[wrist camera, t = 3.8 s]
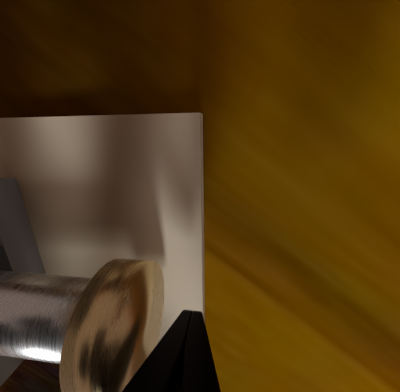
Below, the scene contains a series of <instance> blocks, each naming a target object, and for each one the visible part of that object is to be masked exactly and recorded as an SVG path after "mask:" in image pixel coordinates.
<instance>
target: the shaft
mask: <svg viewBox="0 0 400 392" xmlns="http://www.w3.org/2000/svg"><path fill="white" fill-rule="evenodd" d="M163 307H164V277H163V272H162V268H161V266H160V264H159V263H158V262H157V261H149V260H135V259H121V258H119V259H114V260H111V261H109V262H108V263H106V264H105V265H104V266H103V267H102V268H100V269H99V270H98V272H97V273H96V274H95V275H94V276H93V278H86V277H74V276H62V275H50V274H38V273H27V272H15V271H3V270H0V355H2V356H9V357H16V358H22V359H29V360H36V361H43V362H49V363H56V364H60V370H59V379H60V387H61V391H62V392H122V391H123V389H124V388H125V386H126V385H127V384H128V382H129V381H130V380H131V378H132V377H133V376H134V374H135V373H136V372H137V370H138V369H139V368H140V366H141V365H142V364H143V362H144V361H145V360H146V358H147V357H148V356H149V354H150V353H151V352H152V350H153V349H154V348H155V346H156V345H157V343H158V339H159V334H160V329H161V323H162V316H163Z"/></svg>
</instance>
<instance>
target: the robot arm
mask: <svg viewBox="0 0 400 392" xmlns="http://www.w3.org/2000/svg"><path fill="white" fill-rule="evenodd" d="M122 392H221V391H220V387H219V382H218V378H217V374H216V369H215V365H214V361H213V357H212V352H211V348H210V344H209V339H208V335H207V331H206V326H205V322H204V318H203V314H202V312H201V311H192V310H183V311H182V312H181V313H180V314H179V316H178V317H177V318H176V320H175V321H174V322H173V324H172V325H171V326H170V328H169V329H168V330H167V332H166V333H165V334H164V336H163V337H162V338H161V340H160V341H159V342H158V344H157V345H156V346H155V348H154V349H153V350H152V352H151V353H150V354H149V356H148V357H147V358H146V360H145V361H144V362H143V364H142V365H141V366H140V368H139V369H138V370H137V372H136V373H135V374H134V376H133V377H132V378H131V380H130V381H129V382H128V384H127V385H126V386H125V388H124V389H123V391H122Z"/></svg>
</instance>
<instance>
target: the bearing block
mask: <svg viewBox="0 0 400 392" xmlns="http://www.w3.org/2000/svg"><path fill="white" fill-rule="evenodd" d="M119 258H121V259H135V260H149V261H157V262H158V263H159V264H160V266H161V268H162V272H163V277H164V307H163V316H162V323H161V329H160V334H159V339H158V342H159V341H160V340H161V338H162V337H163V336H164V334H165V333H166V332H167V330H168V329H169V328H170V326H171V325H172V324H173V322H174V321H175V320H176V318H177V317H178V316H179V314H180V313H181V312H182V311H183V310H192V311H201V312H202V314H203V318H204V322H205V287H204V187H203V114H202V113H165V114H129V115H93V116H57V117H21V118H0V270H3V271H15V272H27V273H38V274H50V275H62V276H74V277H86V278H93V276H94V275H95V274H96V273H97V272H98V270H99V269H100V268H102V267H103V266H104V265H105V264H106V263H108V262H109V261H111V260H114V259H119ZM157 344H158V343H157ZM23 360H24V359H22V358H16V357H9V356H2V355H0V386H1V385H2V384H3V383H4V382H5V381H6V380H7V378H8V377H9V376H10V375H11V374H12V373H13V372H14V370H15V369H16V368H17V367H18V366H19V365H20V364H21V363H22V361H23Z"/></svg>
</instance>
